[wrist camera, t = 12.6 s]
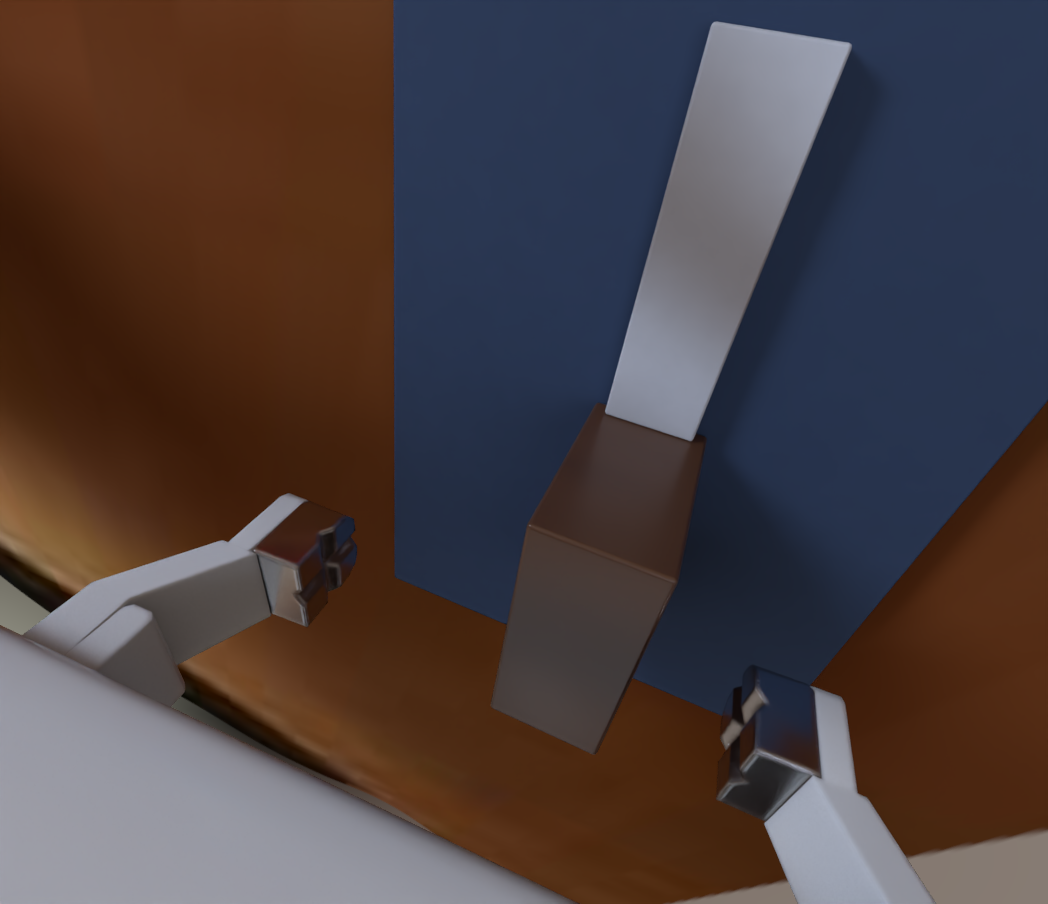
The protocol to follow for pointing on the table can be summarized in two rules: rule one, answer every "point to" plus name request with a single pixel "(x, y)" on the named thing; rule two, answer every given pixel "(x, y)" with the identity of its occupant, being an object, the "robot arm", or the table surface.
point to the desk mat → (767, 325)
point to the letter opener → (661, 389)
